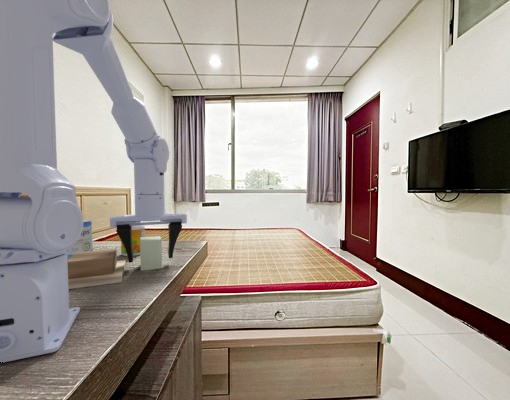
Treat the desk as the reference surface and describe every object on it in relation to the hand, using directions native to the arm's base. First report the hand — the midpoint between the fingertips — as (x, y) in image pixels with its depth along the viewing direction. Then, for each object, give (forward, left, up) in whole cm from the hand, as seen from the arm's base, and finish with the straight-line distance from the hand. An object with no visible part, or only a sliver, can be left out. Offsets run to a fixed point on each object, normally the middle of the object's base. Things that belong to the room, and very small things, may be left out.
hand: (151, 259), depth 53 cm
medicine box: (+13, +17, -2) cm, 21 cm away
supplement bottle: (+13, +4, -2) cm, 14 cm away
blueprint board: (-2, +10, -2) cm, 10 cm away
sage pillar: (0, 0, -2) cm, 2 cm away
